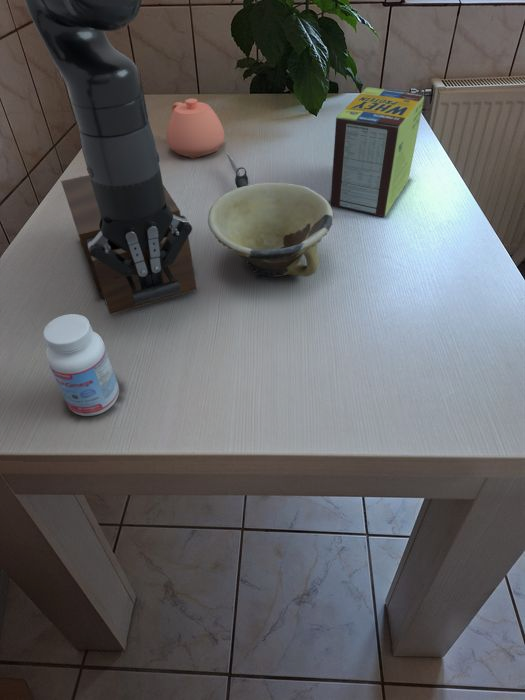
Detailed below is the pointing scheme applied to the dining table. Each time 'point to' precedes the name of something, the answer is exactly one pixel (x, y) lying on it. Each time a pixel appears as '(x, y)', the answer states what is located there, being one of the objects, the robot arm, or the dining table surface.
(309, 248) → the bowl
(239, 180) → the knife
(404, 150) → the protein box
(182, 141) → the sugar bowl
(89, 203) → the cabinet
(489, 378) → the dining table surface
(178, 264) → the drawer
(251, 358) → the dining table surface
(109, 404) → the pill bottle
